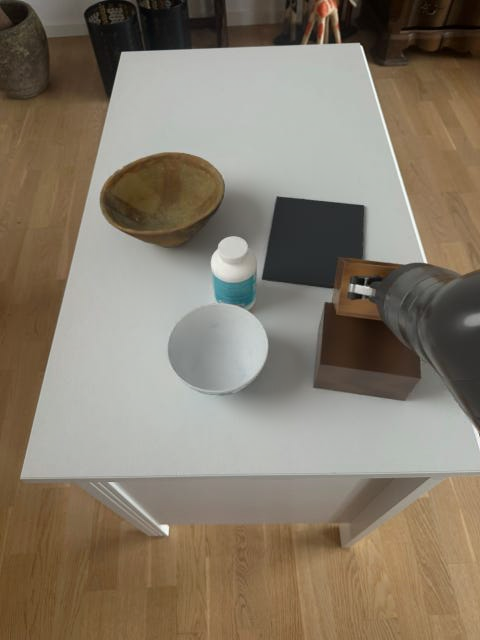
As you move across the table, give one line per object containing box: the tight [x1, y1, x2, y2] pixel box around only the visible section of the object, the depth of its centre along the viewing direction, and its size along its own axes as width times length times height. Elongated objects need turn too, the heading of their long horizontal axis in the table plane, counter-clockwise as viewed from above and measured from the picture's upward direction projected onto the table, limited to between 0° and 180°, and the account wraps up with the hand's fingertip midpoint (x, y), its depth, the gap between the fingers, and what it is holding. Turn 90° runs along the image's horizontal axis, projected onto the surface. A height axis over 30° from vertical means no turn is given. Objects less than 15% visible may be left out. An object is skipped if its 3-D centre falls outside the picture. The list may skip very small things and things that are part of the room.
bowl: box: [99, 151, 226, 248], centre depth 84 cm, size 22×23×10 cm
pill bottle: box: [210, 235, 258, 311], centre depth 73 cm, size 8×7×14 cm
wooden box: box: [331, 257, 405, 321], centre depth 62 cm, size 12×10×7 cm
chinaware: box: [166, 302, 270, 397], centre depth 68 cm, size 15×15×8 cm
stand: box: [312, 301, 422, 402], centre depth 68 cm, size 14×11×8 cm
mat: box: [261, 195, 365, 289], centre depth 86 cm, size 18×22×1 cm
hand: (389, 283), depth 57 cm, fingers closed
